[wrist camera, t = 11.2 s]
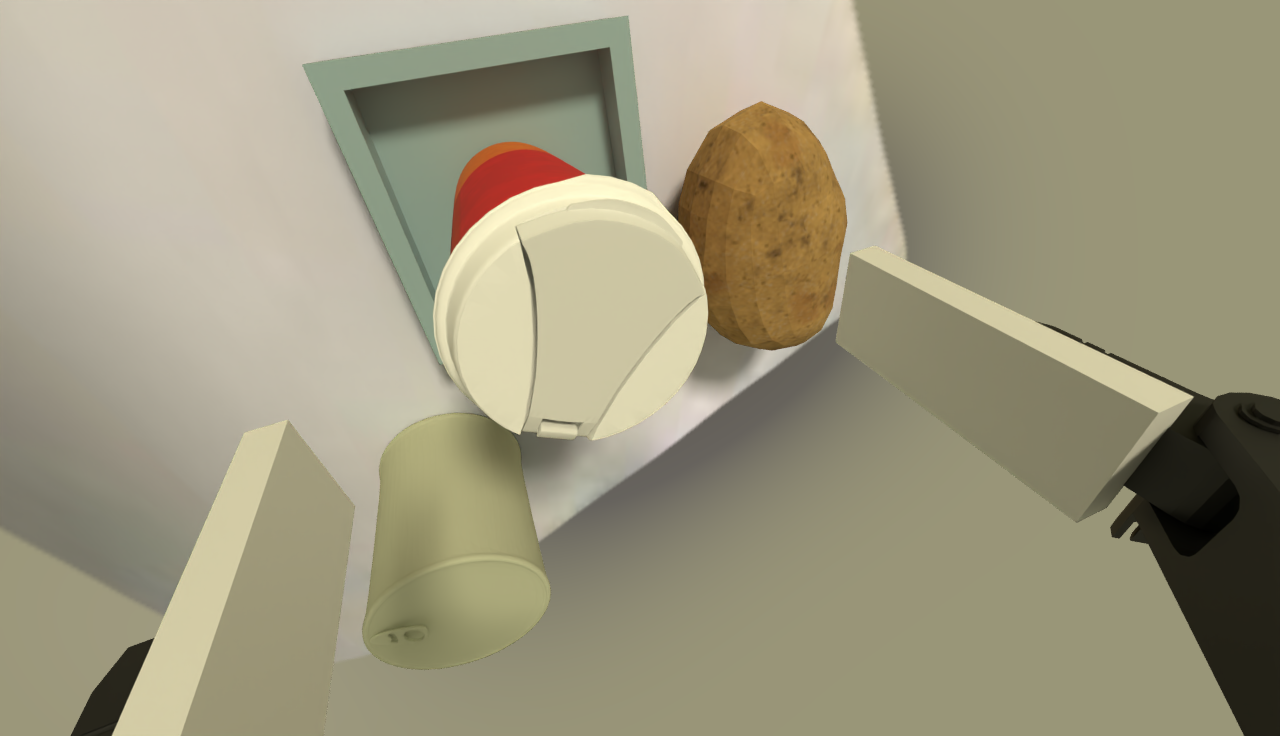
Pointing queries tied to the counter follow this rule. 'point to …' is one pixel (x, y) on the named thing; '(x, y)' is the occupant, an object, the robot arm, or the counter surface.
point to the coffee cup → (565, 296)
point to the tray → (475, 126)
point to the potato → (765, 227)
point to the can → (452, 546)
